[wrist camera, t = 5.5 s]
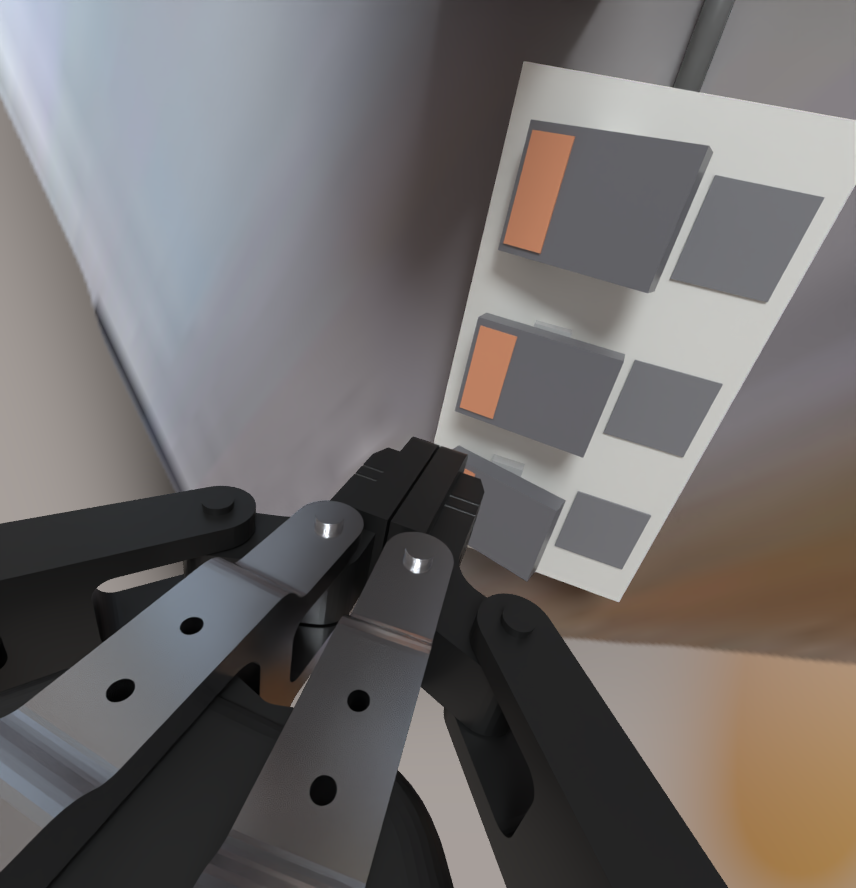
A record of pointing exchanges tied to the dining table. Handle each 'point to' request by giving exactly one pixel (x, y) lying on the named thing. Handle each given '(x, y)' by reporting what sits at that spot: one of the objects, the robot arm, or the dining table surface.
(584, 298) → the power strip
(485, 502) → the rocker
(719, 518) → the dining table surface
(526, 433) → the block
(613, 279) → the plate
